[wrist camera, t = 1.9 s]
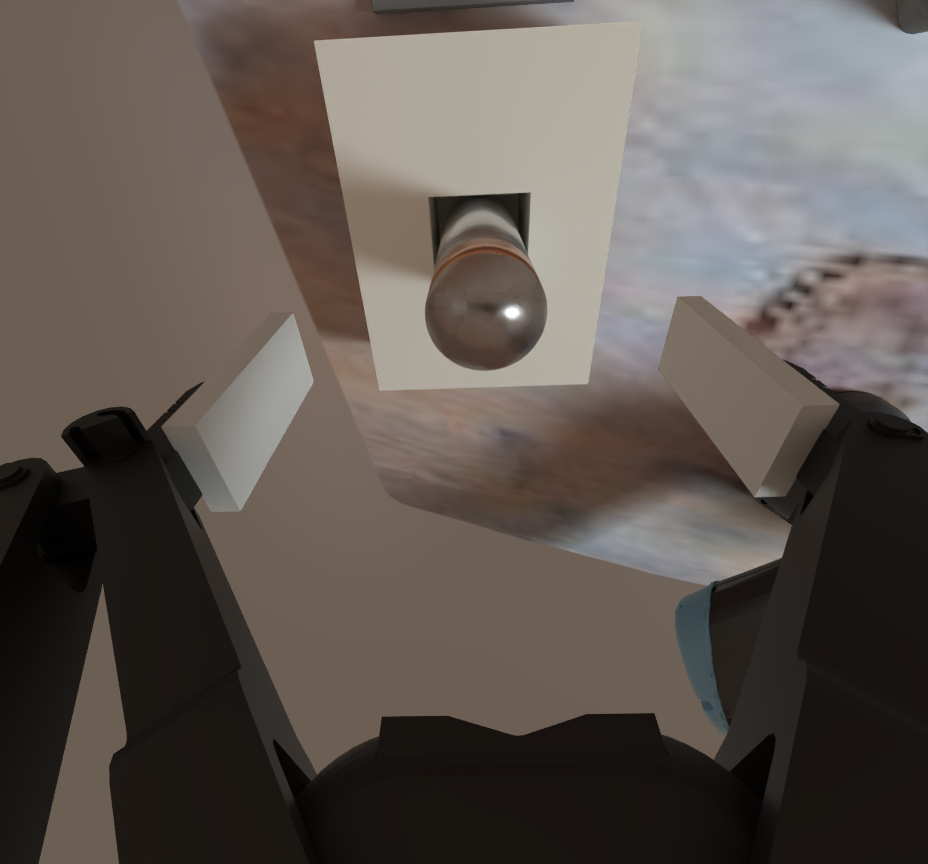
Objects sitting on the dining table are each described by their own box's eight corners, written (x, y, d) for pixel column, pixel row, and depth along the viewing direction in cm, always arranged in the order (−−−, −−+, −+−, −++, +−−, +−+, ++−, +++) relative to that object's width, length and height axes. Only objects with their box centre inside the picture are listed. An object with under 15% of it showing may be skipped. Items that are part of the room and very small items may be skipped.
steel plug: (510, 259, 33) (542, 368, 19) (447, 262, 34) (430, 372, 19) (512, 186, 30) (552, 249, 16) (442, 190, 31) (418, 255, 16)
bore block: (568, 339, 39) (588, 384, 32) (394, 345, 39) (379, 390, 33) (601, 44, 27) (643, 20, 20) (350, 59, 27) (313, 40, 21)
